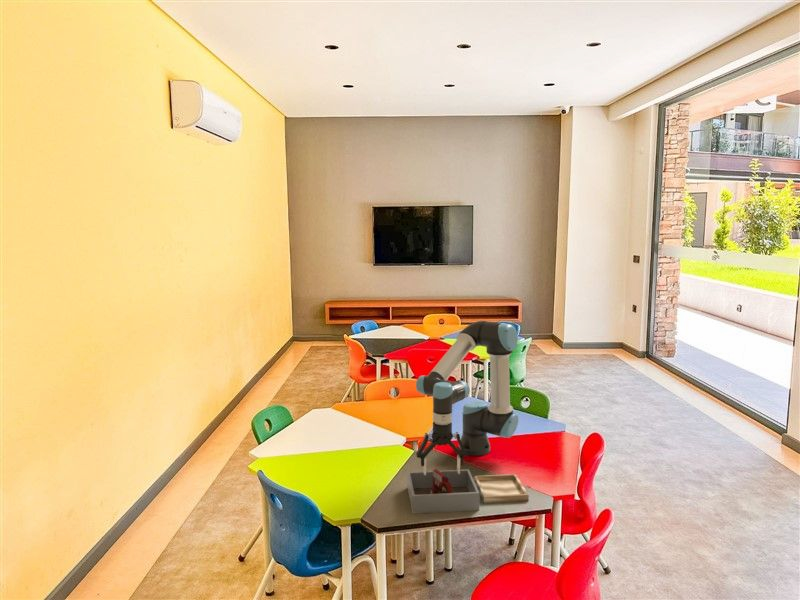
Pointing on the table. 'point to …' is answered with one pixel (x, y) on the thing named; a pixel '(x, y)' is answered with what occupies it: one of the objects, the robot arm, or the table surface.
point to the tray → (500, 488)
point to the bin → (445, 500)
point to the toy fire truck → (440, 483)
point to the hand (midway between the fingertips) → (441, 473)
